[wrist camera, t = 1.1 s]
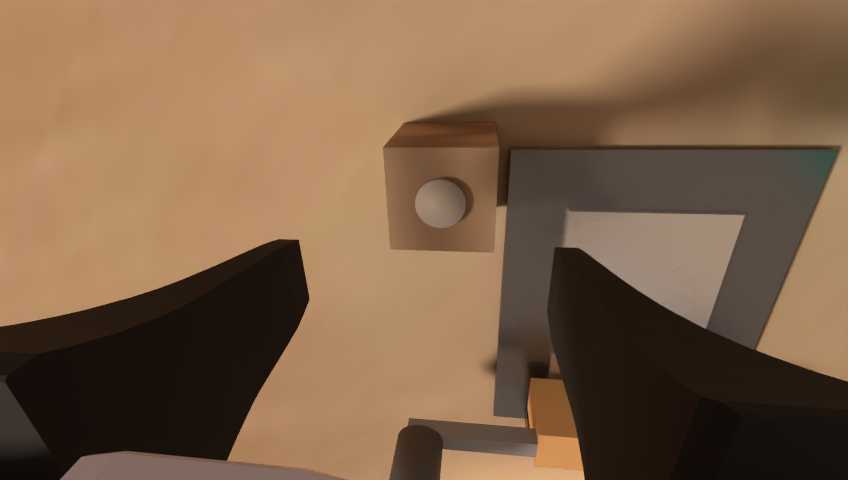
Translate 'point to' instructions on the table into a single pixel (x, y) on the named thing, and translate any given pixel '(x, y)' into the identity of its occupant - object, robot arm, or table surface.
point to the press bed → (650, 238)
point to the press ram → (494, 437)
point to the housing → (442, 186)
